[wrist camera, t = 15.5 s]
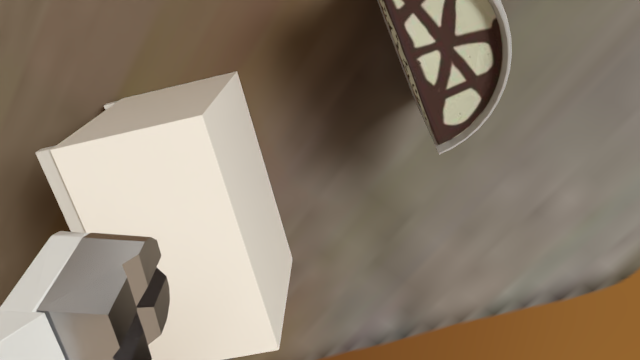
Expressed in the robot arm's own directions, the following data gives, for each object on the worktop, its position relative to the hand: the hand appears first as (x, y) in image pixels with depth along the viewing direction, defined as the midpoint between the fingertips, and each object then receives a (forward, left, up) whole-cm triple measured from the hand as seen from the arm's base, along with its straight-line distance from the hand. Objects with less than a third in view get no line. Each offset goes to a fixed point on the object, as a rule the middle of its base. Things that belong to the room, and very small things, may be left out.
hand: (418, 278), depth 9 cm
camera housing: (-5, -16, -34) cm, 38 cm away
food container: (+5, +2, -34) cm, 34 cm away
